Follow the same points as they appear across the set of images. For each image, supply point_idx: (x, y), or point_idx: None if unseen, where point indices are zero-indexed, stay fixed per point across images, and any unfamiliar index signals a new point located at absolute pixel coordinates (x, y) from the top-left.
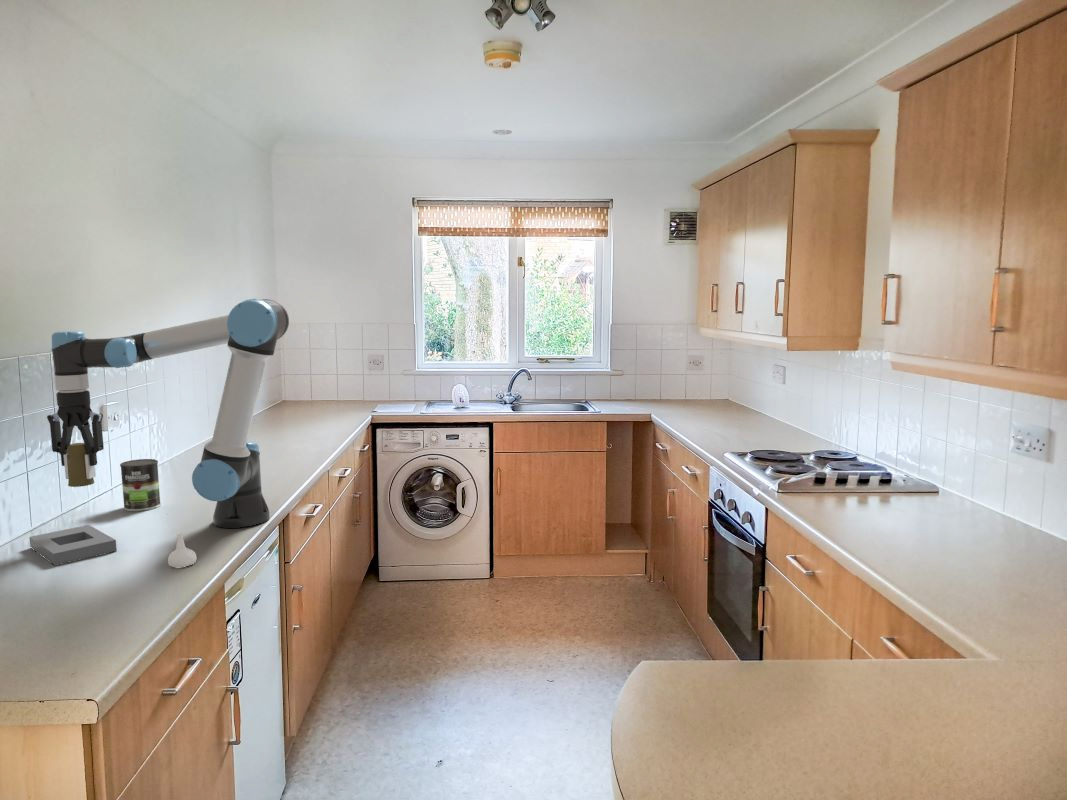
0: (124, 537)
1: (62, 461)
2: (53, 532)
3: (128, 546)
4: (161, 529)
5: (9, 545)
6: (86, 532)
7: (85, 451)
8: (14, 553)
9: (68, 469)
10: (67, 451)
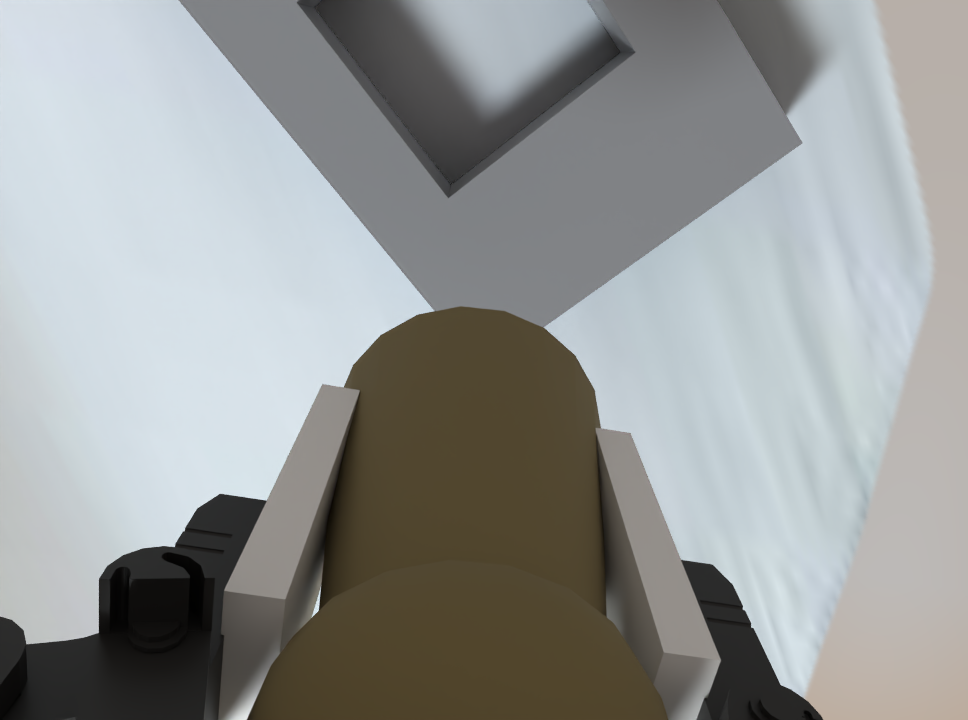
0: (232, 253)
1: (726, 610)
2: (663, 223)
3: (105, 26)
4: (65, 382)
5: (923, 229)
6: (420, 169)
7: (267, 677)
8: (843, 30)
9: (610, 507)
10: (634, 666)
